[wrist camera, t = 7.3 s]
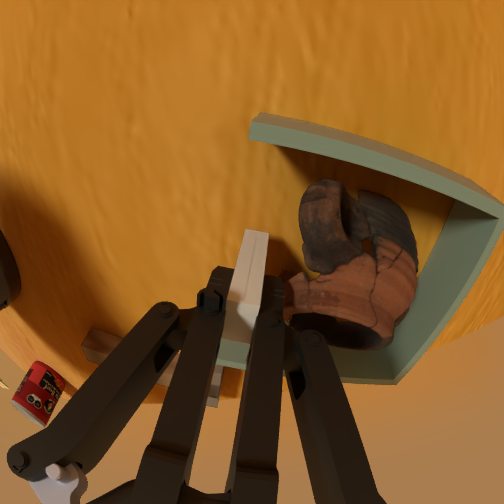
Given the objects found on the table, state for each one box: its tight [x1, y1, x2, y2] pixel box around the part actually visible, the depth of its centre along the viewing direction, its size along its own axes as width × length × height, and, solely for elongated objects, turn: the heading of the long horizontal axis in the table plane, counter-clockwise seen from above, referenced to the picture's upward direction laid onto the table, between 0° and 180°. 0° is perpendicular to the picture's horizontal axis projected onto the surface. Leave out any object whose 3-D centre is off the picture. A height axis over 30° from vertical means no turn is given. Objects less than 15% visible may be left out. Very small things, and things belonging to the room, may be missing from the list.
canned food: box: [11, 361, 65, 428], centre depth 36 cm, size 8×8×11 cm
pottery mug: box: [279, 179, 418, 351], centre depth 17 cm, size 12×10×8 cm
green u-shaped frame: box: [216, 113, 504, 385], centre depth 17 cm, size 15×17×5 cm
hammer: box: [81, 328, 224, 408], centre depth 28 cm, size 16×8×3 cm, turn 81°
